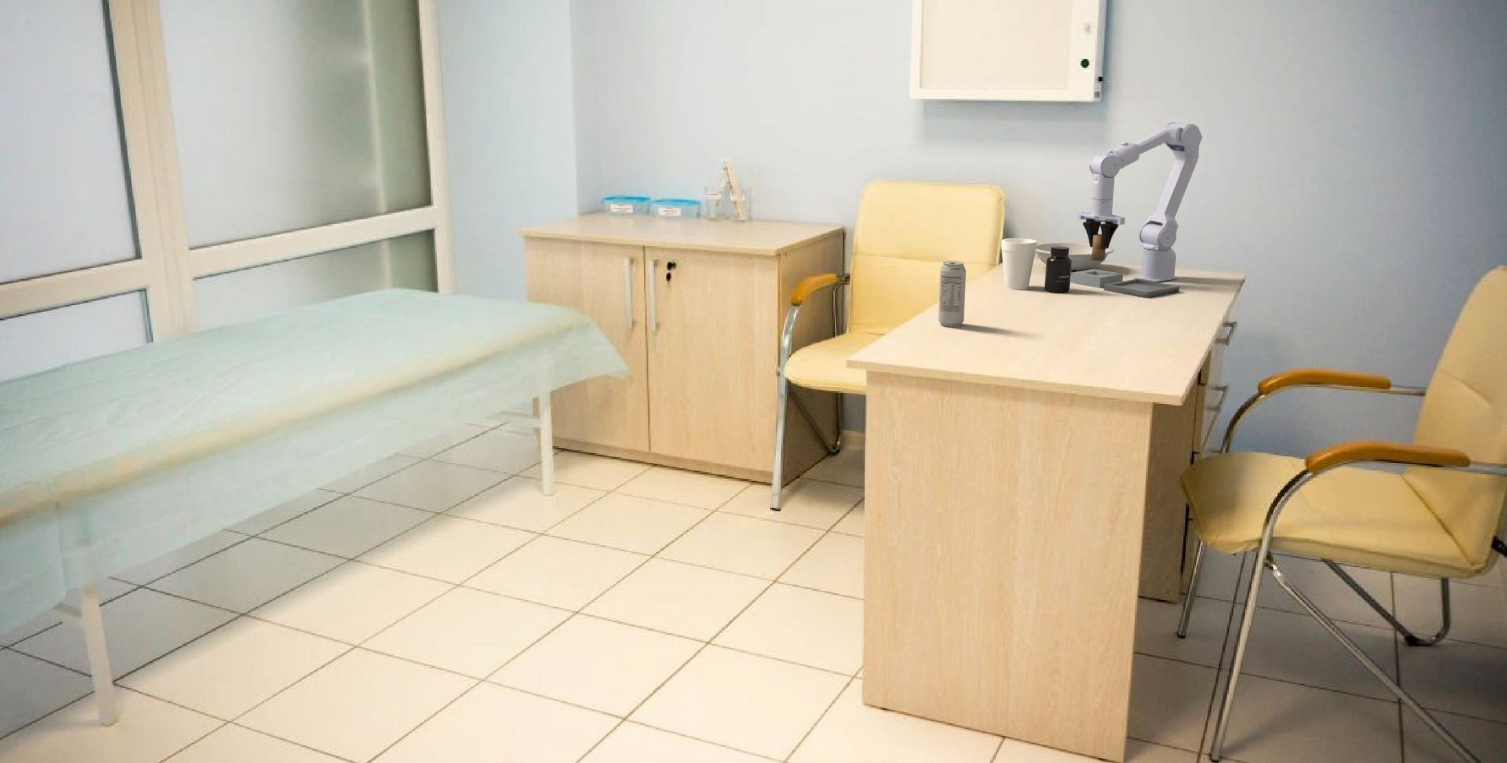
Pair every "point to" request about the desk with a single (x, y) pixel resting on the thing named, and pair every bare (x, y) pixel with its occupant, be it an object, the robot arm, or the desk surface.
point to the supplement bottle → (1058, 270)
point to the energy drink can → (952, 294)
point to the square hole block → (1095, 277)
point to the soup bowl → (1072, 254)
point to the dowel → (1098, 248)
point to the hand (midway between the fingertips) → (1099, 247)
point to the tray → (1141, 288)
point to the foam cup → (1018, 262)
